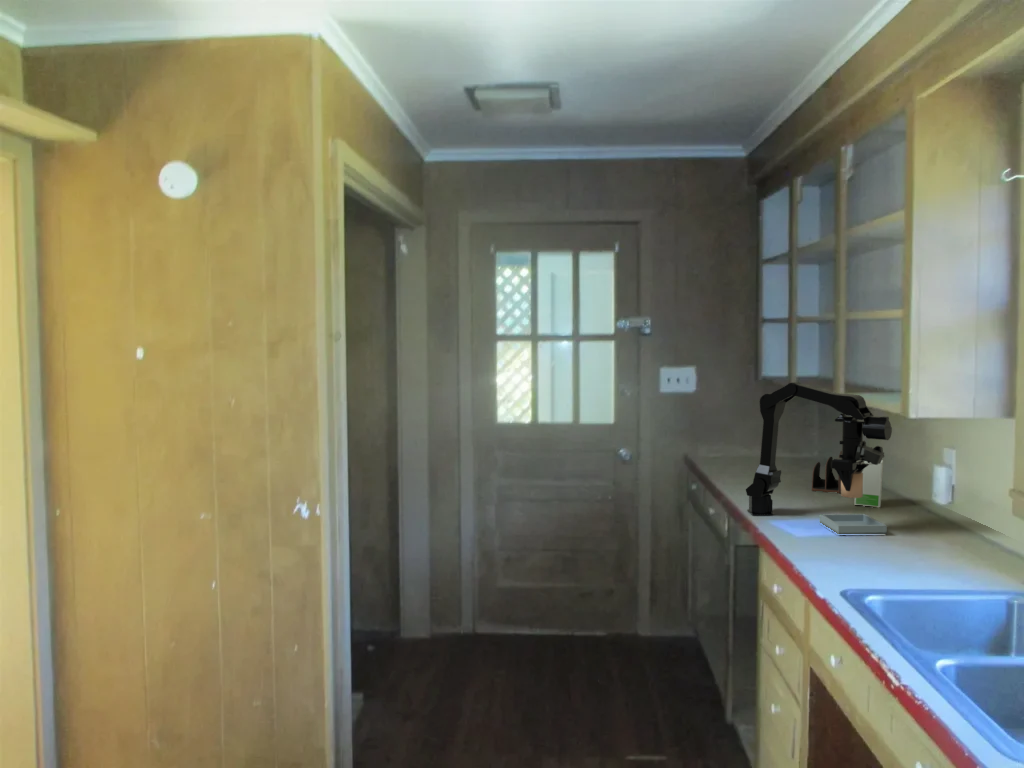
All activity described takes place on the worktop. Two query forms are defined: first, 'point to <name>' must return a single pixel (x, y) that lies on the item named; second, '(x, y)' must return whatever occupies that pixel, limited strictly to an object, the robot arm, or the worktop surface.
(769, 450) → the robot arm
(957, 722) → the worktop surface
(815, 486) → the letter holder
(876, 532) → the tray
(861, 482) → the terracotta cup
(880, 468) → the skincare box
